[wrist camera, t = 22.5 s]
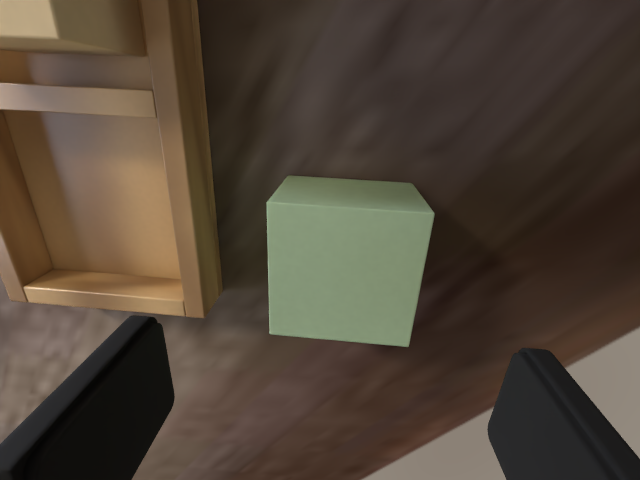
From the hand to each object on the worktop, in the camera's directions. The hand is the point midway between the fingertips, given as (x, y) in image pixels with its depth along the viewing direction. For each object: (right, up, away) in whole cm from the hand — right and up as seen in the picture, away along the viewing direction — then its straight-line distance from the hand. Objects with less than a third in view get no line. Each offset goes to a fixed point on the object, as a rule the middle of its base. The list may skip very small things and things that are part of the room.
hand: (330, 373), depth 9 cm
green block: (+1, +4, +8) cm, 9 cm away
